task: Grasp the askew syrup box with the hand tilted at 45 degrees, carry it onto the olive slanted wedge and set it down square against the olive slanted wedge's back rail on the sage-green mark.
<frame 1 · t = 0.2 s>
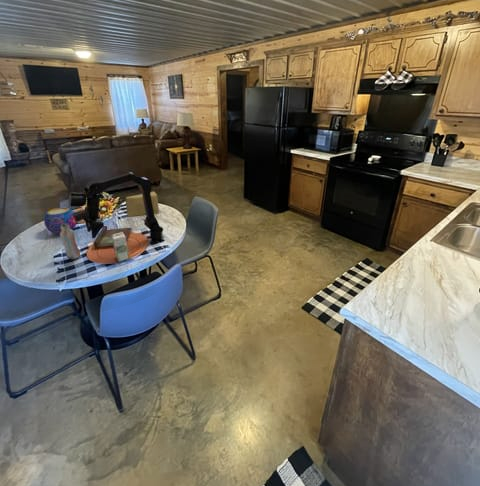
hand: (91, 234, 136), 15 cm above the table, tool pointing down, fingers open, 9 cm apart
plastic bottle: (74, 258, 144), on the table
cheese: (143, 213, 198), on the table
ceramic pot: (64, 231, 172), on the table
syrup box: (123, 258, 143), on the table
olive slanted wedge: (114, 238, 163), on the table
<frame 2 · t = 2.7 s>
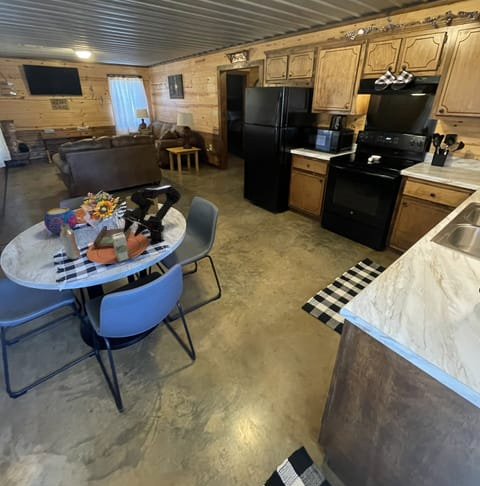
hand: (129, 234, 143), 12 cm above the table, tool tilted 45°, fingers open, 9 cm apart
nothing on the table moved.
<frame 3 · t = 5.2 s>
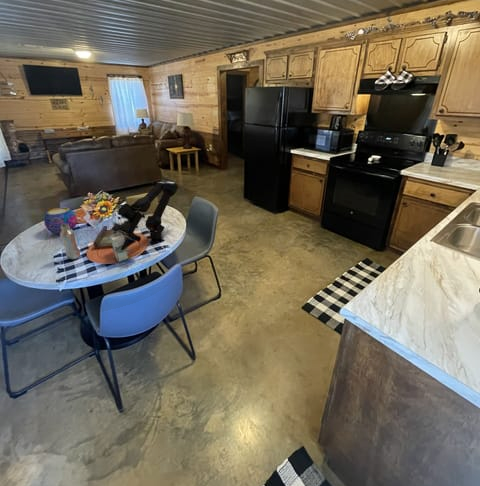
hand: (117, 248, 139), 7 cm above the table, tool tilted 45°, fingers closed on syrup box, 7 cm apart
syrup box: (122, 258, 143), on the table, touching gripper
everything else where it was.
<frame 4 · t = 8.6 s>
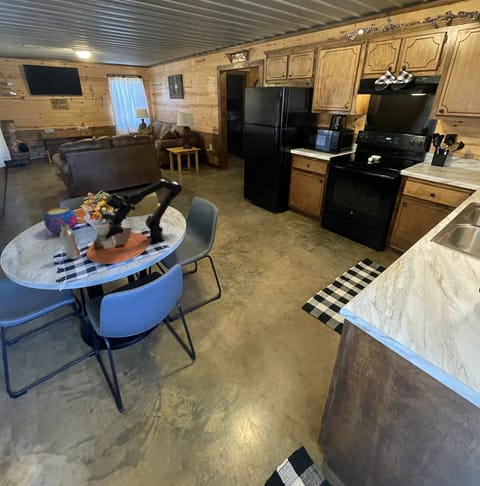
hand: (104, 236, 143), 11 cm above the table, tool tilted 45°, fingers closed on syrup box, 7 cm apart
syrup box: (110, 246, 147), point 4 cm above the table, touching gripper
everything else where it was.
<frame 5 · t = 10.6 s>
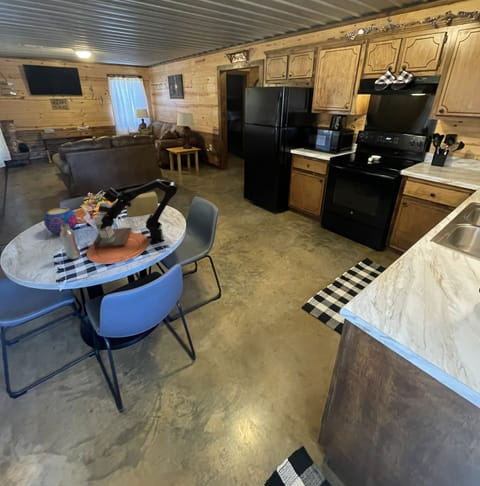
hand: (102, 225, 154), 11 cm above the table, tool tilted 45°, fingers closed on syrup box, 7 cm apart
syrup box: (107, 236, 157), point 4 cm above the table, touching gripper
everything else where it was.
when the fingers open (9 cm above the table, at t = 12.0 s): syrup box stays where it is, resting on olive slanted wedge.
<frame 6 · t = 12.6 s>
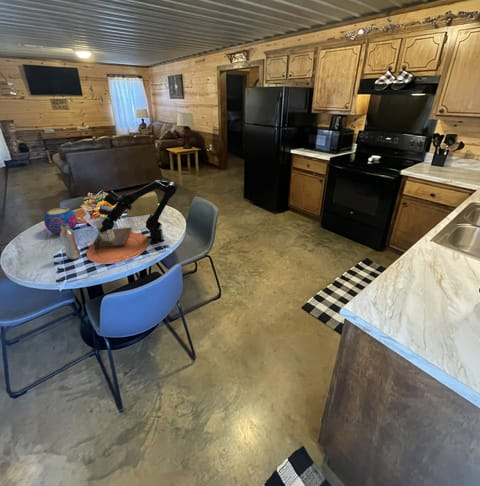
hand: (102, 228, 155), 9 cm above the table, tool tilted 45°, fingers open, 9 cm apart
syrup box: (108, 239, 159), point 2 cm above the table, touching gripper, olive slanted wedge
everything else where it was.
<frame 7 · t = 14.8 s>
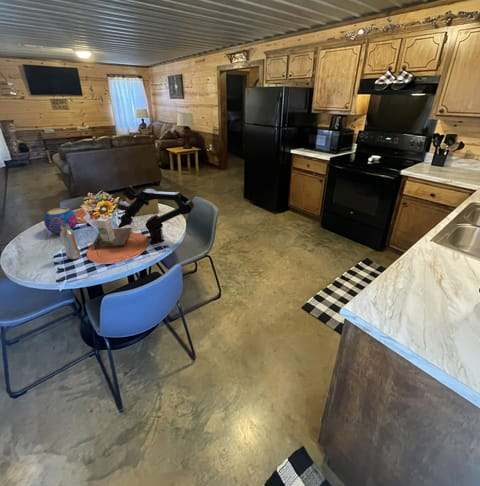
hand: (120, 224, 157), 11 cm above the table, tool tilted 45°, fingers open, 9 cm apart
syrup box: (108, 240, 159), point 1 cm above the table, touching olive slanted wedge
everything else where it was.
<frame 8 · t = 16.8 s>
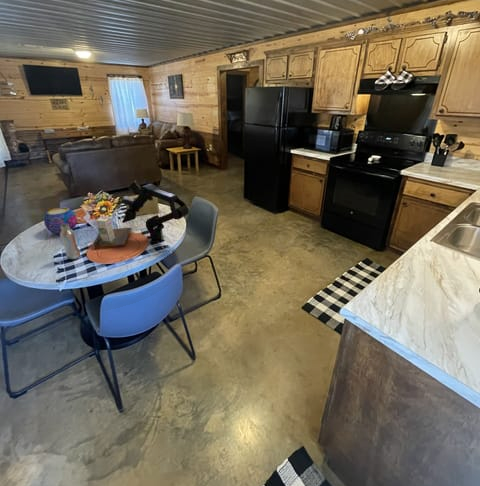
hand: (124, 219, 158), 14 cm above the table, tool tilted 45°, fingers open, 9 cm apart
nothing on the table moved.
at the end: syrup box 0.2 cm from the target spot on the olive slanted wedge, point 1.4 cm above the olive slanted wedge's base; syrup box tilted 0°; the gripper is holding nothing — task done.
